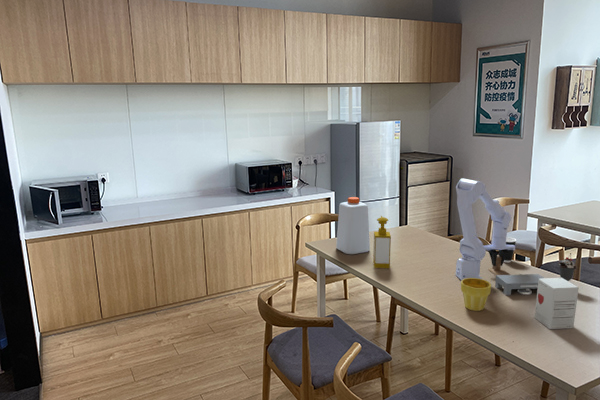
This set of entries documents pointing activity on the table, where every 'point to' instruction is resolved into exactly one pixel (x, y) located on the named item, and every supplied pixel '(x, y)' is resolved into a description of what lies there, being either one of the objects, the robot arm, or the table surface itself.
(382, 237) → the soap bottle
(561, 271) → the sundae
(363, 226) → the plastic bottle
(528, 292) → the steel disc
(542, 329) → the table surface
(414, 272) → the table surface
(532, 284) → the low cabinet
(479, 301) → the plant pot
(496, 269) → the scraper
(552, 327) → the supplement box
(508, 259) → the dixie cup
